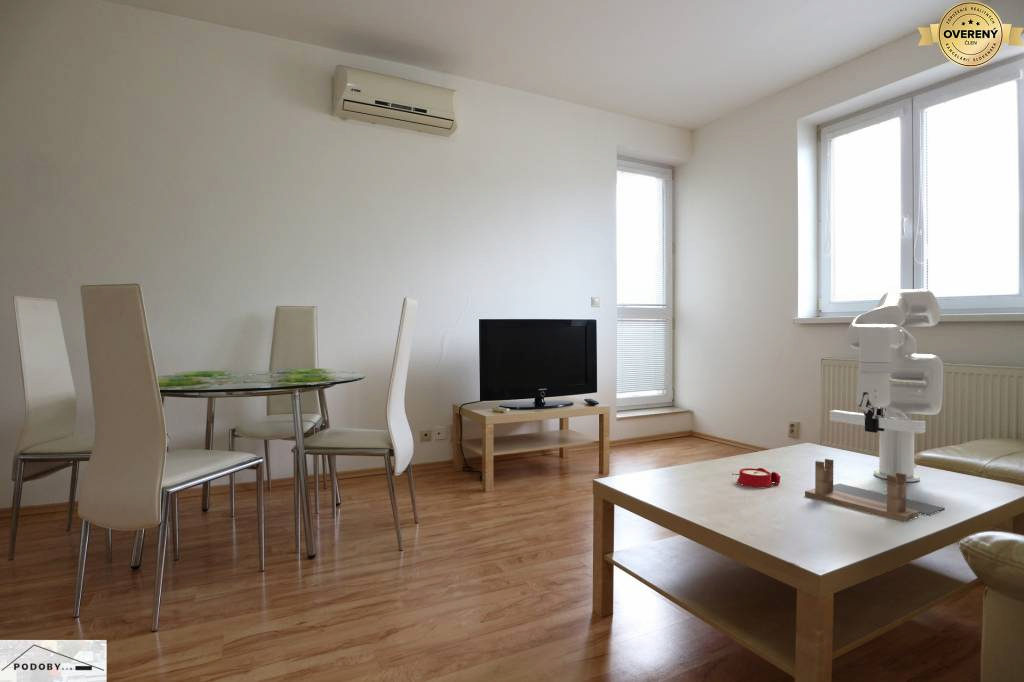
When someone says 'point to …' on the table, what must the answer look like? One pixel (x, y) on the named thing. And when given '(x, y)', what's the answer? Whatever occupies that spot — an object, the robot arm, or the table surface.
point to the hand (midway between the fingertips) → (874, 430)
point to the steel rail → (880, 421)
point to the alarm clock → (757, 477)
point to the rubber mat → (881, 497)
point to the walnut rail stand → (891, 509)
